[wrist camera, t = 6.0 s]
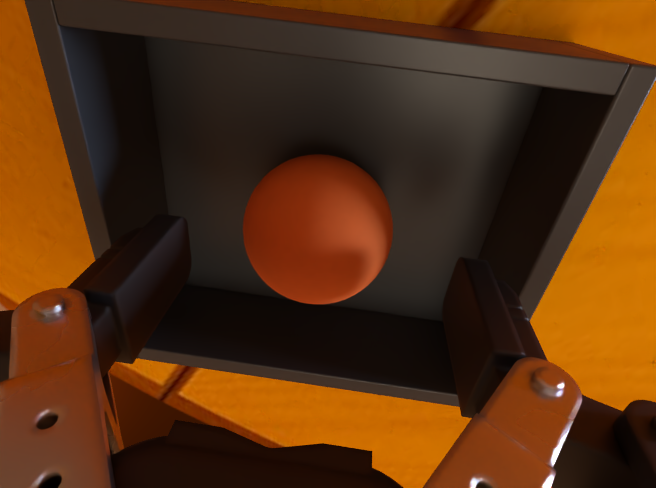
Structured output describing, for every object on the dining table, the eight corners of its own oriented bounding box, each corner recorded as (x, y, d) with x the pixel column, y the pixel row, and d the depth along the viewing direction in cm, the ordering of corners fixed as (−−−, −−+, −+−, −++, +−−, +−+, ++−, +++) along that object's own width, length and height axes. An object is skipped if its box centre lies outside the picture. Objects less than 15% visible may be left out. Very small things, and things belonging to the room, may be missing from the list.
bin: (170, 284, 20) (120, 356, 16) (126, -13, 13) (19, -14, 9) (461, 326, 19) (483, 411, 15) (574, 42, 12) (664, 67, 9)
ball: (262, 241, 17) (225, 324, 13) (263, 125, 14) (217, 182, 10) (378, 258, 17) (379, 347, 13) (402, 143, 14) (414, 209, 10)
